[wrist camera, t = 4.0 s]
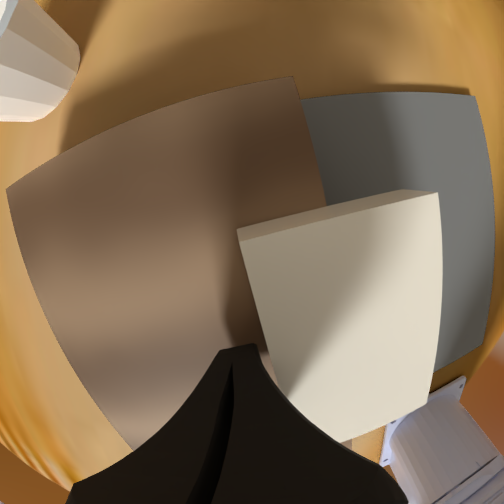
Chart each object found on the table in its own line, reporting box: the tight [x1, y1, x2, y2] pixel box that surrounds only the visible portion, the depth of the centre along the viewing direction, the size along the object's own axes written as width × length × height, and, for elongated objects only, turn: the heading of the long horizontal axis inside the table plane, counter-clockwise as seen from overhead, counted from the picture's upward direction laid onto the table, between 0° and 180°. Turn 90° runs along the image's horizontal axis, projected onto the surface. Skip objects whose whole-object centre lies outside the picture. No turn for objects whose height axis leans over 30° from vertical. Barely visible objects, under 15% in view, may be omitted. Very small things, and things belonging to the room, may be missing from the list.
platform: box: [6, 76, 352, 451], centre depth 12 cm, size 18×12×4 cm, turn 14°
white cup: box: [0, 0, 81, 122], centre depth 7 cm, size 7×7×7 cm
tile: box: [237, 189, 443, 443], centre depth 9 cm, size 9×6×2 cm, turn 14°
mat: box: [300, 92, 495, 373], centre depth 13 cm, size 18×12×1 cm
